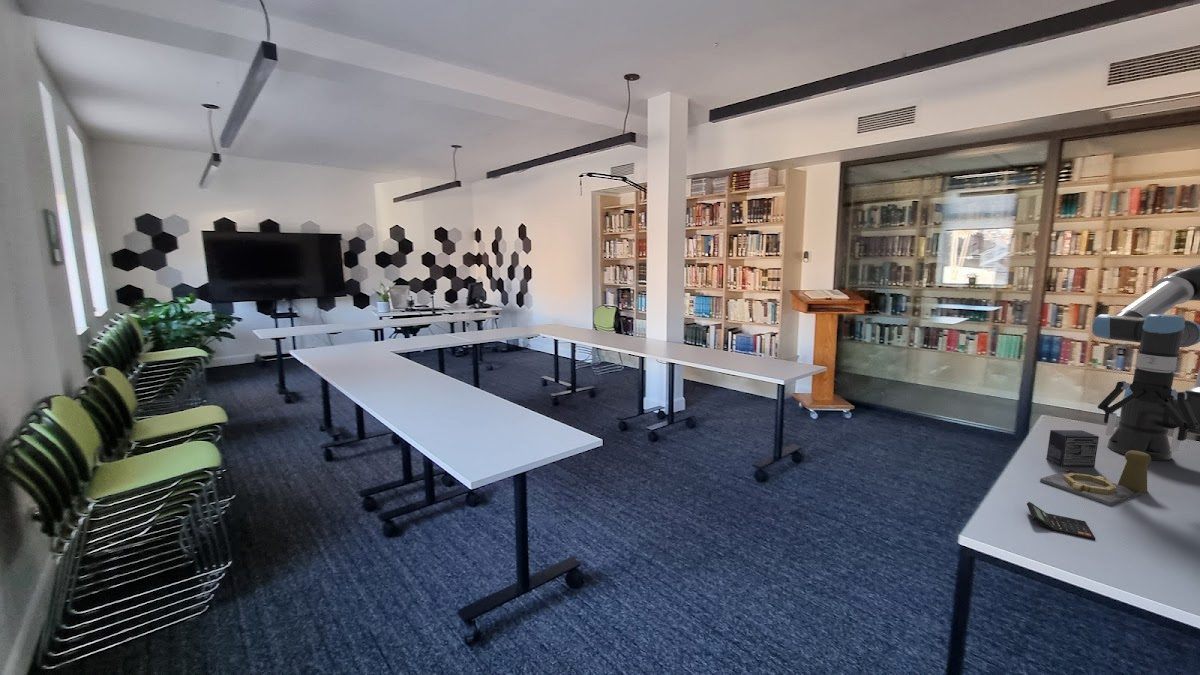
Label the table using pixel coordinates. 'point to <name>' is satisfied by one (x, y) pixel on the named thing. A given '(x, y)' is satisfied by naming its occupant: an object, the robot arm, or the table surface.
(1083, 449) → the small box
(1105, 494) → the socket
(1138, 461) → the cork
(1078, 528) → the calculator
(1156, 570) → the table surface
